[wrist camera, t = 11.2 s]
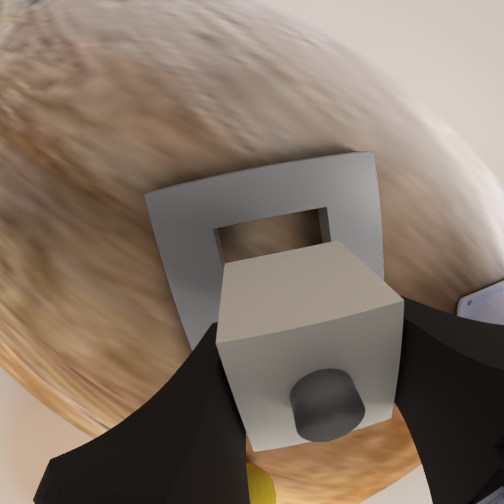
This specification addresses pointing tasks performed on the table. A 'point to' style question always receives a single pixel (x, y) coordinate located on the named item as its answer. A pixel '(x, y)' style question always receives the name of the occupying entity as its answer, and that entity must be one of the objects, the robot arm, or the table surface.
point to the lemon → (260, 485)
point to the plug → (308, 344)
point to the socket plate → (254, 208)
